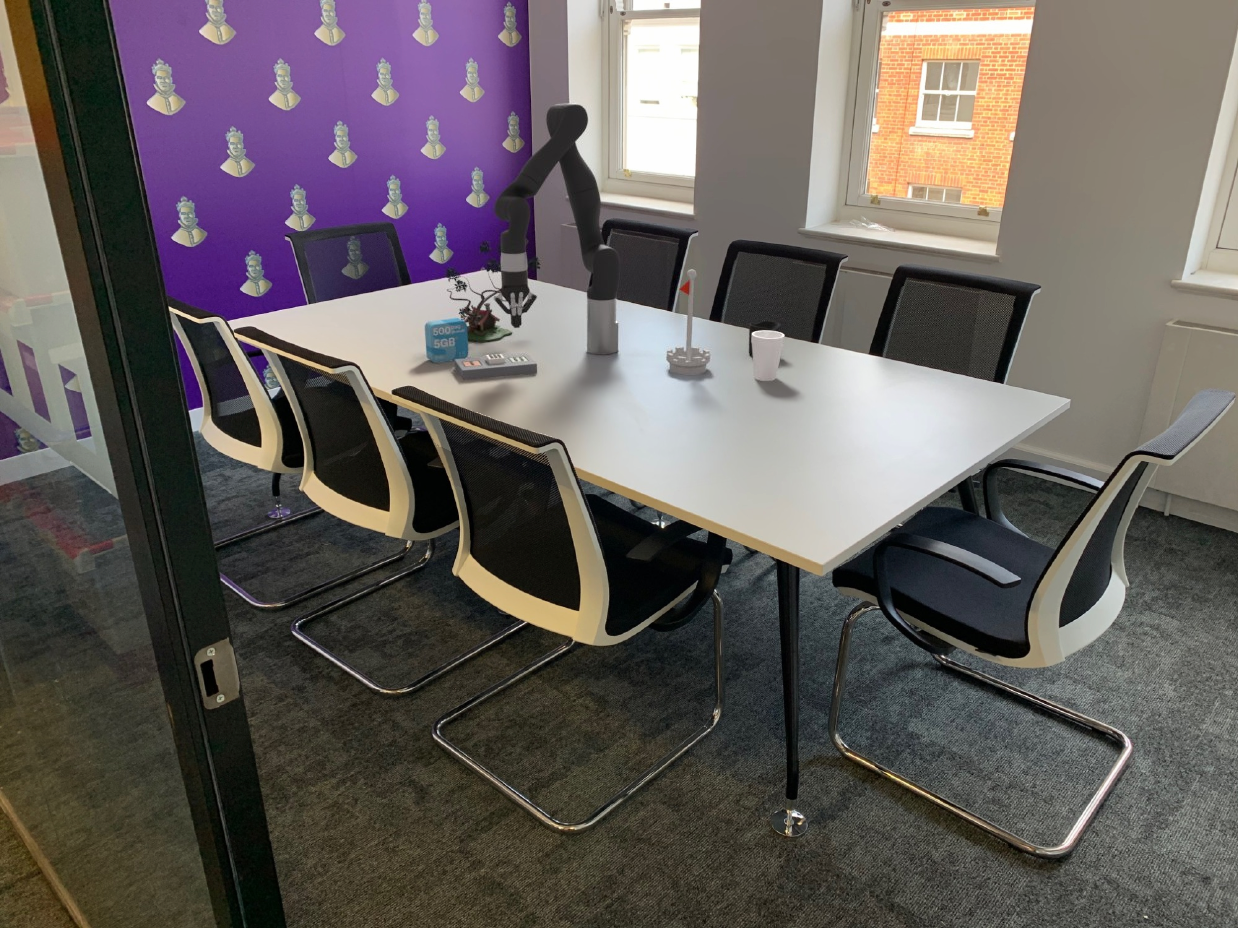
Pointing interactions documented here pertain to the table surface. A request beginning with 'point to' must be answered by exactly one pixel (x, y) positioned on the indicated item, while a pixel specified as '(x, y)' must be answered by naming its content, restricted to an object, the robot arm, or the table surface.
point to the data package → (446, 340)
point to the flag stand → (688, 341)
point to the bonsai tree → (479, 319)
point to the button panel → (495, 367)
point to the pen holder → (759, 327)
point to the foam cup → (766, 353)
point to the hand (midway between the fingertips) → (516, 327)
